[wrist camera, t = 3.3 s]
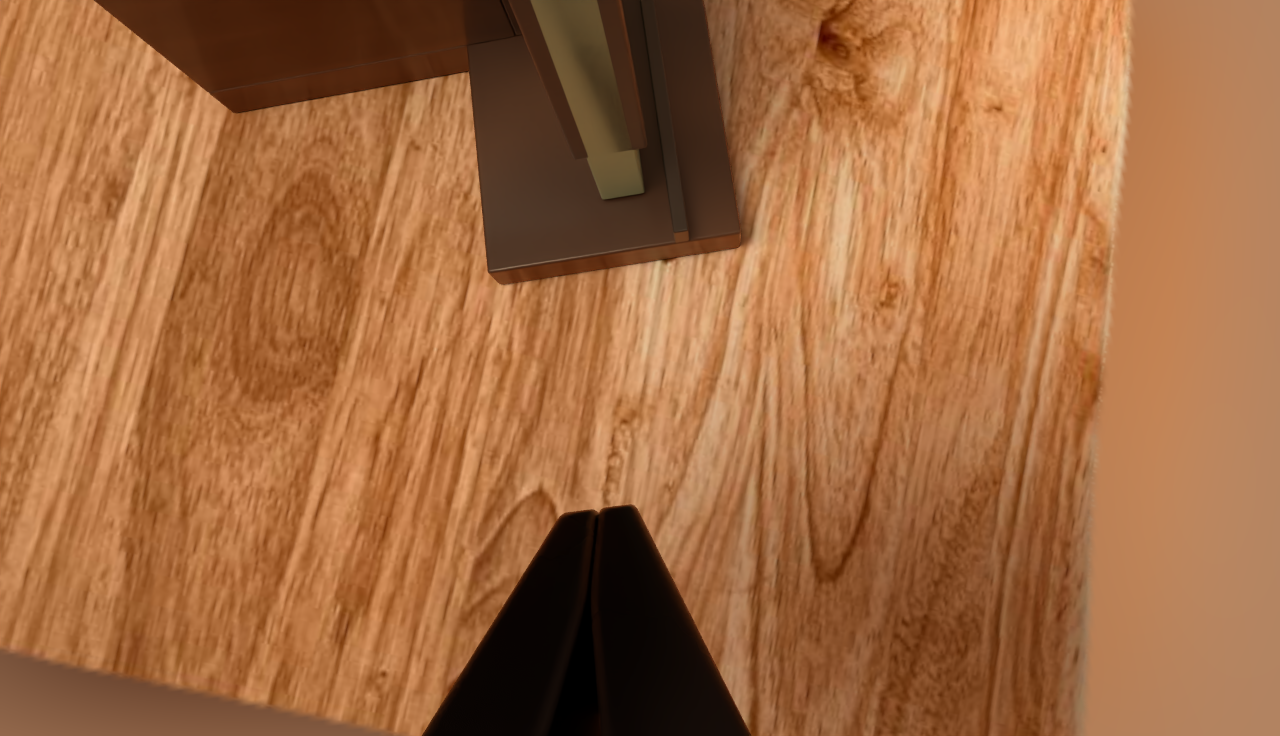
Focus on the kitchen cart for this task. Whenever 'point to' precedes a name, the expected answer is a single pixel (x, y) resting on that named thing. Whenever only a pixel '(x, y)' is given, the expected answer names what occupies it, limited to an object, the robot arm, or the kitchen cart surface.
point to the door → (590, 85)
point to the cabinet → (488, 112)
